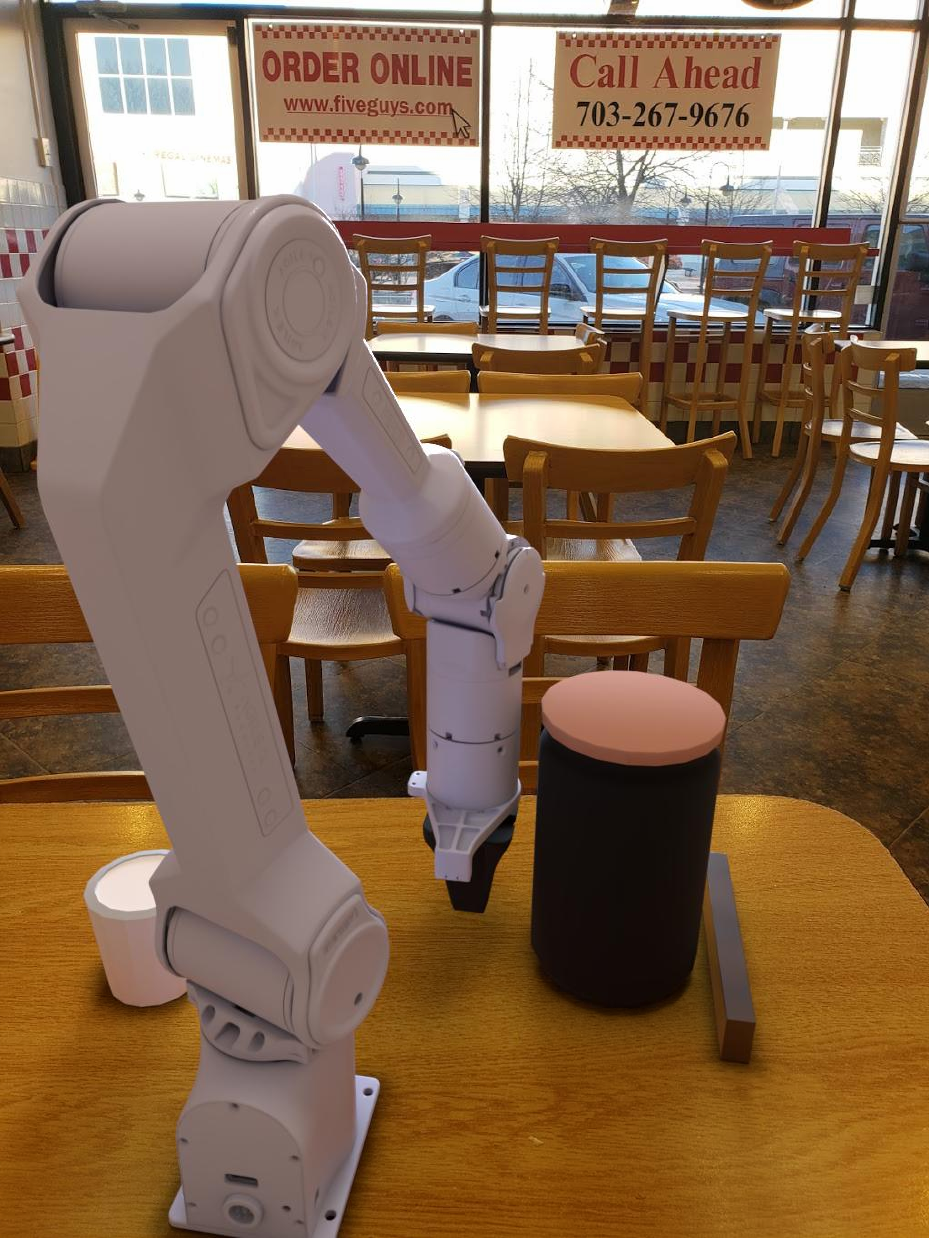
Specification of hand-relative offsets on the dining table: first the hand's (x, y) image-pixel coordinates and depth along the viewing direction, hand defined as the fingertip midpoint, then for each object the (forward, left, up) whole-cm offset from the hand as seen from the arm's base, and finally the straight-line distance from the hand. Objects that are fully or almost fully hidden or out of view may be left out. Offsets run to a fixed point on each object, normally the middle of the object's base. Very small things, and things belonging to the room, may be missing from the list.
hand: (469, 905), depth 62 cm
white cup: (-7, +19, -3) cm, 20 cm away
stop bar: (0, -16, -2) cm, 17 cm away
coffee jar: (0, -9, -3) cm, 10 cm away
